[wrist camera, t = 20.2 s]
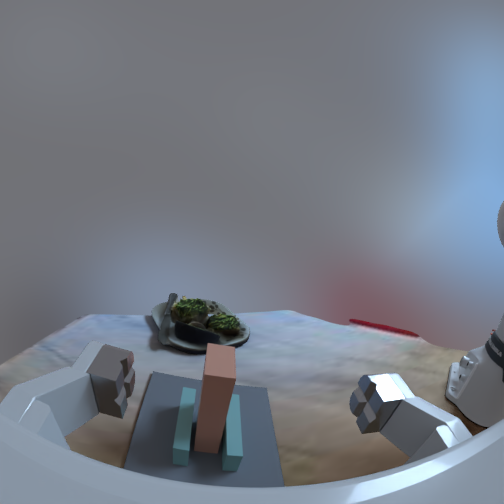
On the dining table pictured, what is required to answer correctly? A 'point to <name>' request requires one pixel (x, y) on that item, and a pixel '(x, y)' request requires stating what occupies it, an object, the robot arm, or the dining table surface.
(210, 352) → the salmon orange block
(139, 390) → the dining table surface
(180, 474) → the mat
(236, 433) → the slotted rack
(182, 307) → the salad plate
